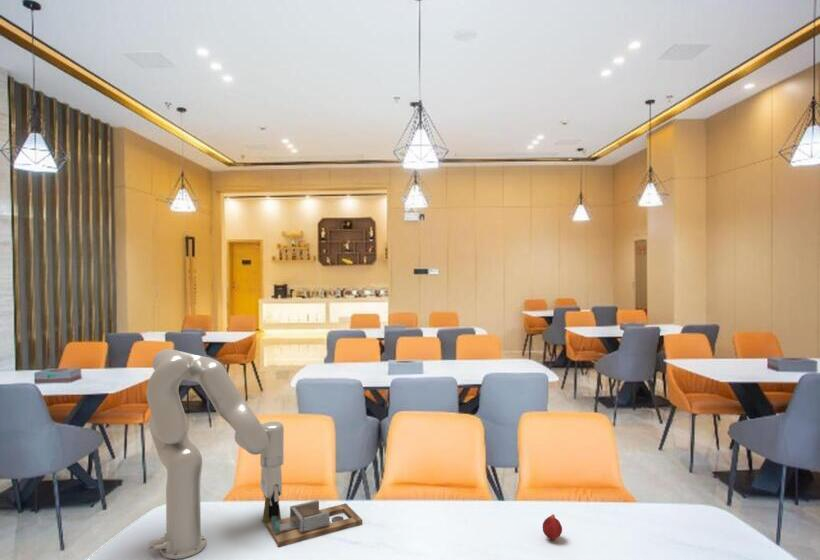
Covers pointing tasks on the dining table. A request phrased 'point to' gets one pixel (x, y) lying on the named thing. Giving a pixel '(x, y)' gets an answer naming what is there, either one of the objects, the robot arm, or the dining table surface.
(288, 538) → the board
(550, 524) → the onion
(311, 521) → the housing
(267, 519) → the olive tapered rounded piece
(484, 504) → the dining table surface
